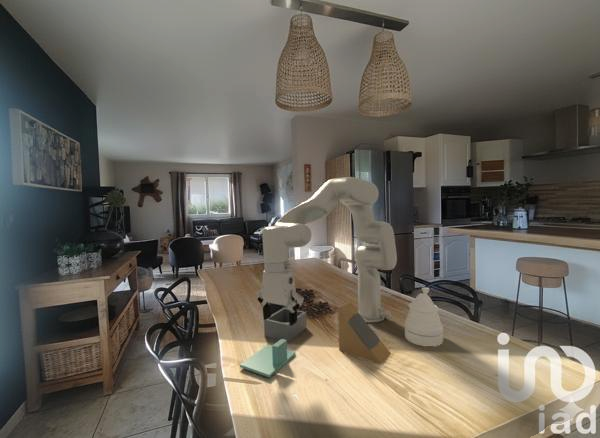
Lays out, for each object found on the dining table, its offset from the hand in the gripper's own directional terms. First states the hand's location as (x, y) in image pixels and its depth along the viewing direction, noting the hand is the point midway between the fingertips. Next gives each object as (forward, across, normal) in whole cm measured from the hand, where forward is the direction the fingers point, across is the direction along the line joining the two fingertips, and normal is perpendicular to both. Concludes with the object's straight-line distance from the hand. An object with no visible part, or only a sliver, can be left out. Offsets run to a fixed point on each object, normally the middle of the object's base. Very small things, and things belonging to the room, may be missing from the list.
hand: (280, 320), depth 88 cm
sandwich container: (+15, -20, -19) cm, 32 cm away
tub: (+15, +11, -19) cm, 26 cm away
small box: (+15, +23, -32) cm, 42 cm away
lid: (+13, +4, +1) cm, 14 cm away
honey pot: (+16, -36, -39) cm, 55 cm away
